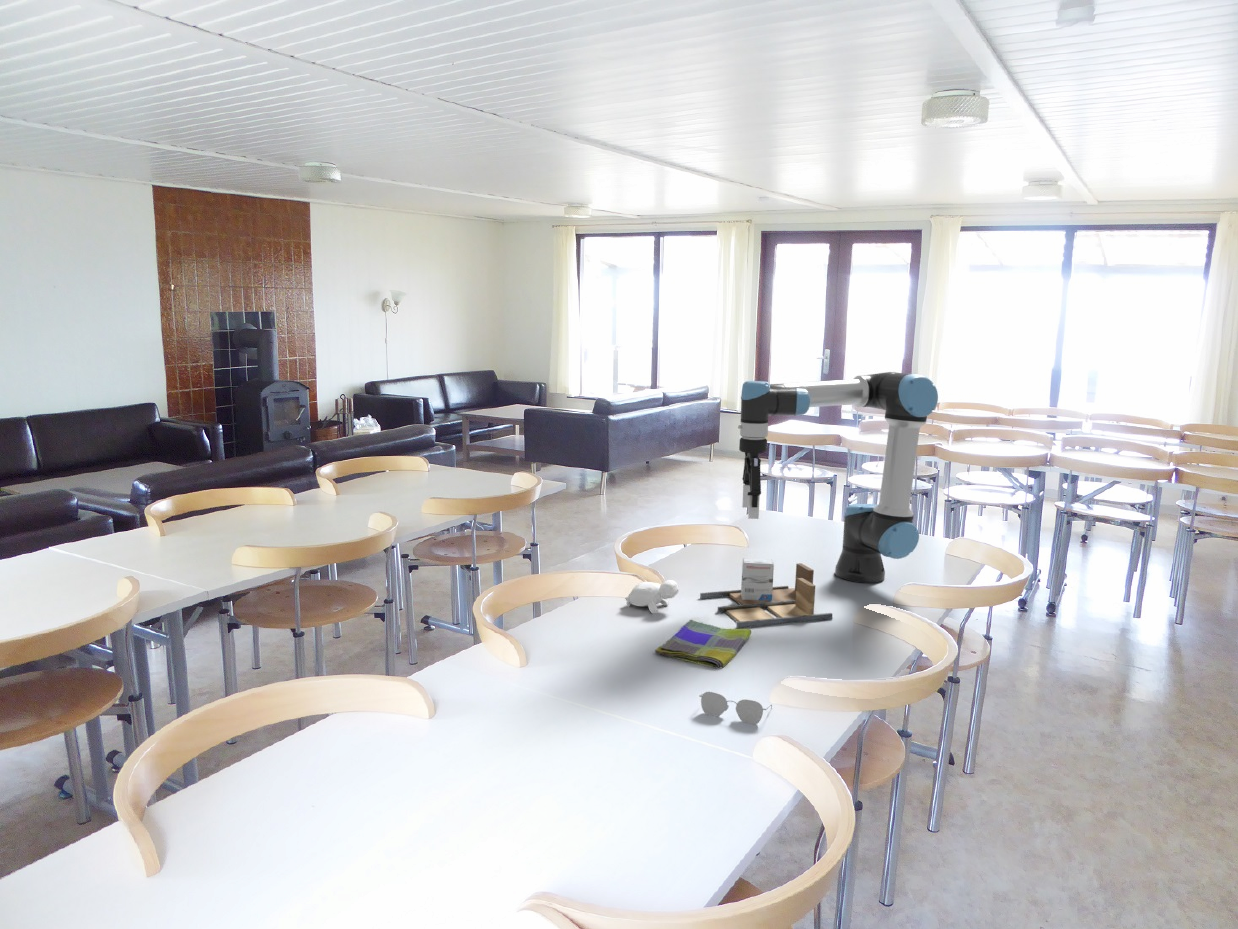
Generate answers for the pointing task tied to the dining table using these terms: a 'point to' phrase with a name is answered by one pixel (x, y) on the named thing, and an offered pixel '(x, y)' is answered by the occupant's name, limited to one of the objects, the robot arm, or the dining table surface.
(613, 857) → the dining table surface
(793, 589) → the tan wooden holder
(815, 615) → the lane rails
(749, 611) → the wooden l-shaped stand
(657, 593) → the white animal figurine
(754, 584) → the ink box
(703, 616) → the dining table surface
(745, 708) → the sunglasses
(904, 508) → the robot arm
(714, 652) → the dish towel
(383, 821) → the dining table surface
